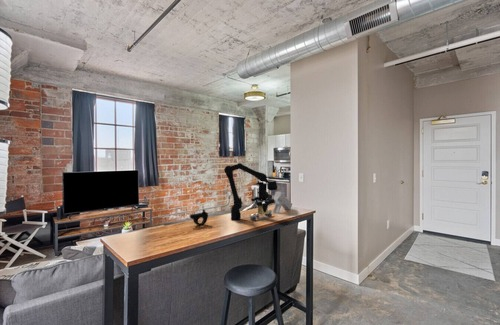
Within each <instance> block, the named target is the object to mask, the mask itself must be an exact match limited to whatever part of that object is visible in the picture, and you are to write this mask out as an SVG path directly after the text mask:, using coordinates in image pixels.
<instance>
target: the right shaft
mask: <svg viewBox="0 0 500 325" xmlns="http://www.w3.org/2000/svg"><path fill="white" fill-rule="evenodd" d="M264 216H265V217H269V218H271V217H272V216H273V212H272V209H268V213H267V214H264Z"/></svg>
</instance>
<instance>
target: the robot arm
mask: <svg viewBox="0 0 500 325" xmlns="http://www.w3.org/2000/svg"><path fill="white" fill-rule="evenodd" d="M238 170H241V171H243V172H245V173H247V174H249V175H252V176H253V177H255V178H256V179H257V180H259V181H257V182H256V183H255V184H256V185H257V186H258V192H257V194H258V196H252V197H251V199H250V200H251V202H254V203H255V204H256V206H257V207H258V206H259V205H263V208H264V212H266V210H267V207H268V208H269V205H273V204H276V202H275V200H274V198H273V195H272V194H269V192H268V191H277V190H278V185H277V181H276V180H273V181H272V180H271V181H269V179H267V178H268V176H267V175H266V174H265V173H262V171H261V172H259V171H257V170H254V169H252V168H251V167H249V166H246V165H244V164H243V163H241V162H239V163H237V164H236V163H235V164H234V165H227V166H225V167H224V173H225V175H226V177H227V178H228V179H227V180H228V183H229V186H230V189H231V190H230V191H231V193H232V196H233V205H232V206H231V209H230V220H231V221H240V220H241V219H242V217H241V215H242V213H241V212H240V211H241V210H240V209H241V208H242V207H243V205H244V204H243V201H242V197H241V196H240V197H239V193H238V190H237V186H236V182H235V178H234V171H238ZM264 182H265V183H264Z"/></svg>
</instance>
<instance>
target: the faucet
mask: <svg viewBox="0 0 500 325" xmlns="http://www.w3.org/2000/svg"><path fill="white" fill-rule="evenodd" d="M273 199H274V200H275V203H274V208H273V212H272V214H273V213H274V214H280V211H281V208H283V209H284V210H287V211H289V210H290V211H291V208H292V206H293V203H292V202H291V201H290V200H289V199H288V198H287V197H286V195H284V193H283V192H282V191H277V190H275V192H274V196H273Z"/></svg>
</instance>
